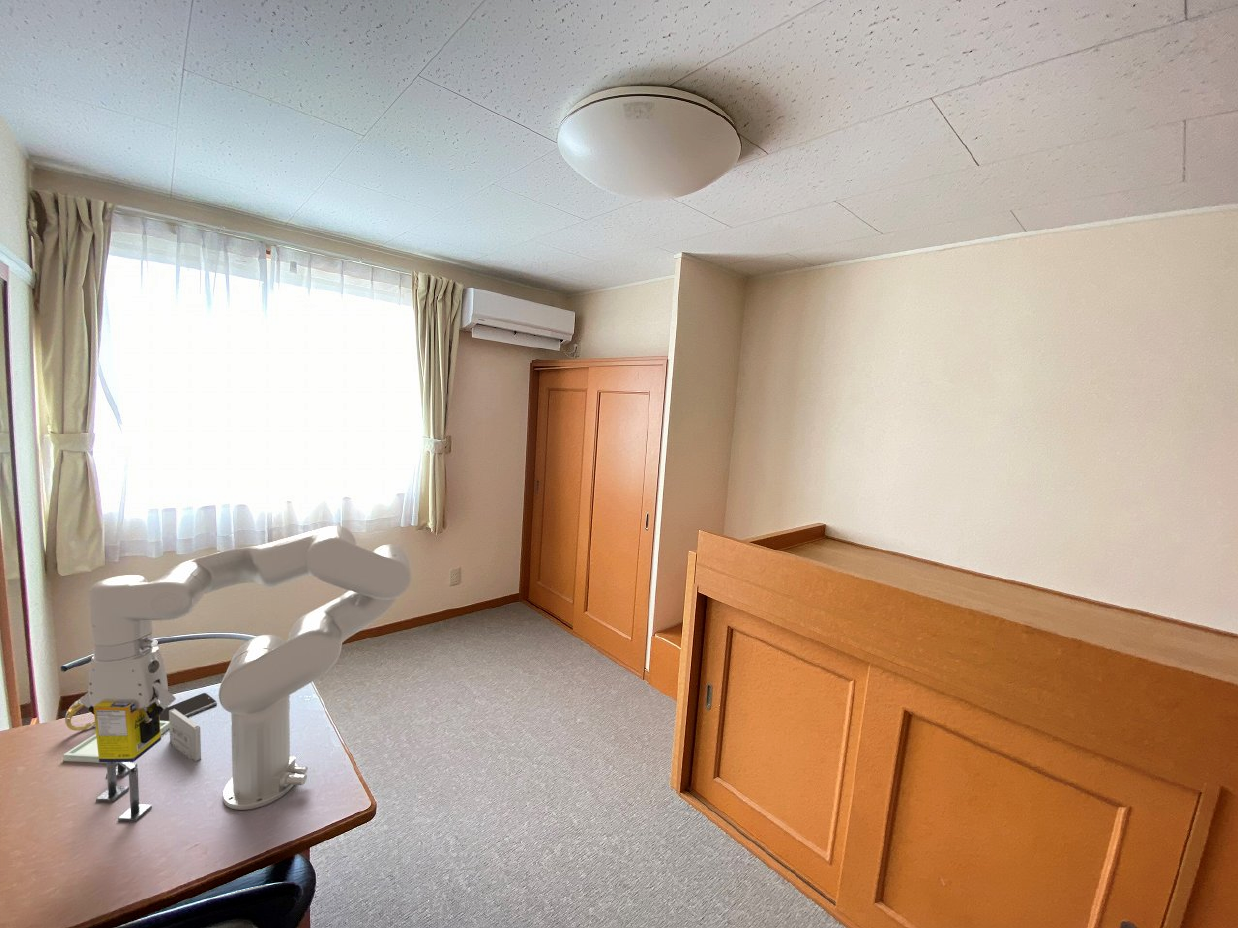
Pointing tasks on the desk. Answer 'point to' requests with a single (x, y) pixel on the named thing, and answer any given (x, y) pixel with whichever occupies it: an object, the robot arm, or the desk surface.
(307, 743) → the desk surface
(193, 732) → the cassette
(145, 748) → the supplement box
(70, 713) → the ring
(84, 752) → the tray
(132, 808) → the metal handrail
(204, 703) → the smartphone
